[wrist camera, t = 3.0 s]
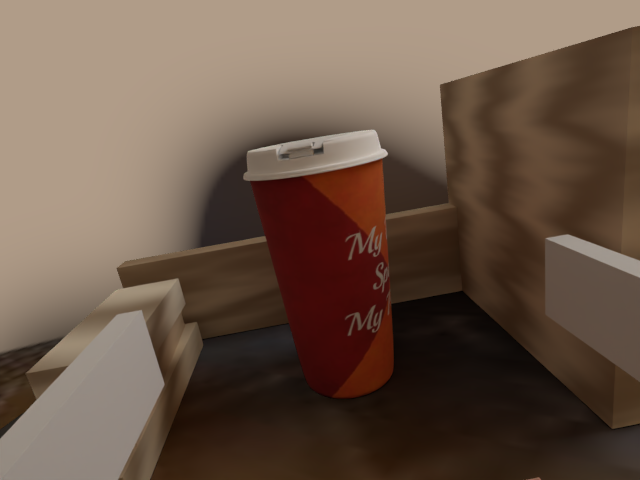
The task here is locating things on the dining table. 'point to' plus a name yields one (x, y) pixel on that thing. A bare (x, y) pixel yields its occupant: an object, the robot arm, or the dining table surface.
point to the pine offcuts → (170, 349)
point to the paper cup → (330, 255)
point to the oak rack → (485, 213)
